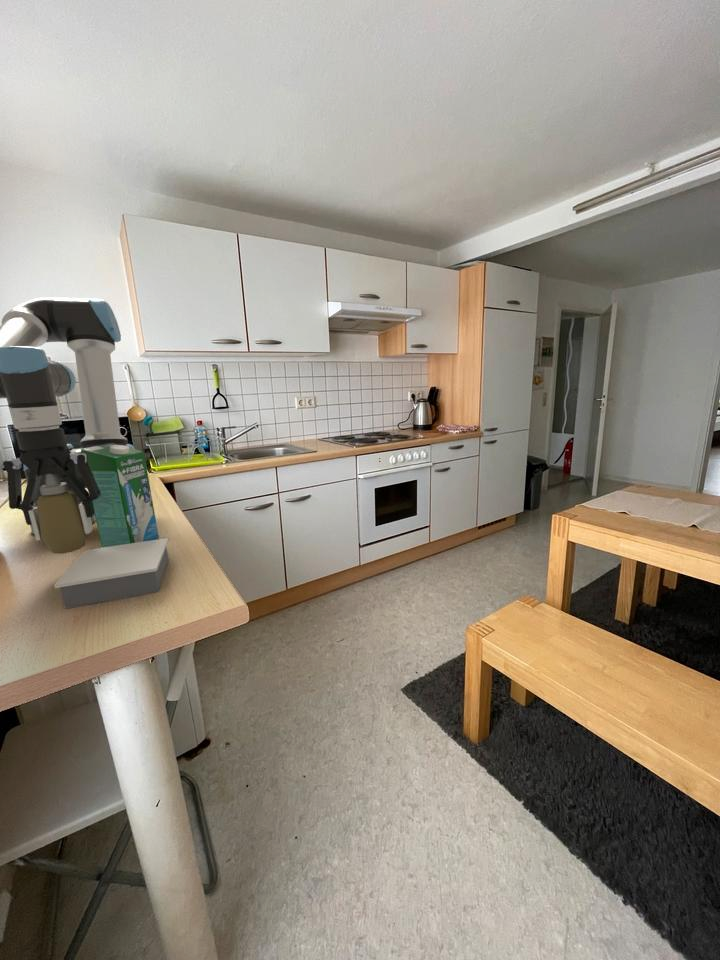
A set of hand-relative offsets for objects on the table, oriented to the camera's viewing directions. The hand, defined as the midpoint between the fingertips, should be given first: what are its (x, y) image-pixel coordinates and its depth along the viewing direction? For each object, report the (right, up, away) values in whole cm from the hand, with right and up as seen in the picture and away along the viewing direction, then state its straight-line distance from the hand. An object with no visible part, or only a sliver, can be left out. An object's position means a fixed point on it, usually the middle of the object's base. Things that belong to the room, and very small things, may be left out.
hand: (65, 534), depth 83 cm
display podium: (+15, -9, -5) cm, 18 cm away
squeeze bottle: (0, -3, +1) cm, 4 cm away
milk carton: (+5, -5, +15) cm, 17 cm away
